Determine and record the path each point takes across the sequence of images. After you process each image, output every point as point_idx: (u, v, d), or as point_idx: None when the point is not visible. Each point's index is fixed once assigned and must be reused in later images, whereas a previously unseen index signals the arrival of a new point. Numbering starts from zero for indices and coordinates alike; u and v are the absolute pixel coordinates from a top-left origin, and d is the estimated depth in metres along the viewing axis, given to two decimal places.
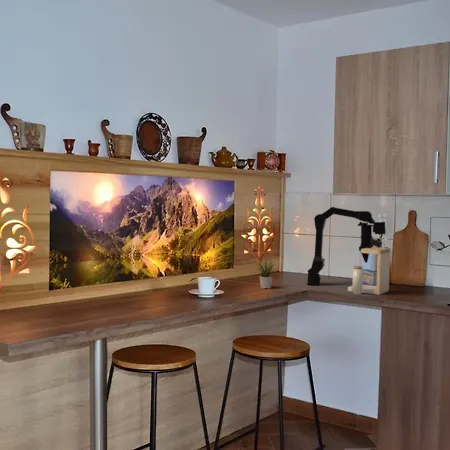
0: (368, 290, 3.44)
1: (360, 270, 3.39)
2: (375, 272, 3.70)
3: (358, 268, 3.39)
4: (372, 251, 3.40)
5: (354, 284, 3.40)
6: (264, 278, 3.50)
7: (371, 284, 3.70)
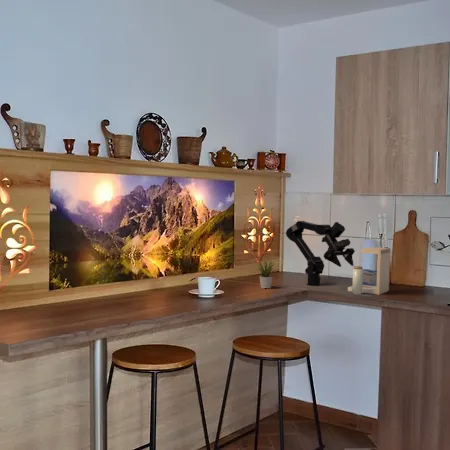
0: (368, 290, 3.44)
1: (360, 270, 3.39)
2: (375, 272, 3.70)
3: (358, 268, 3.39)
4: (372, 251, 3.40)
5: (354, 284, 3.40)
6: (264, 278, 3.50)
7: (371, 284, 3.70)
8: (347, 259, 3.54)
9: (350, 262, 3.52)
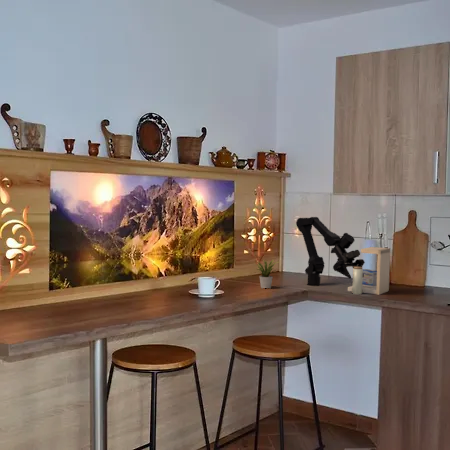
0: (368, 290, 3.44)
1: (360, 270, 3.39)
2: (375, 272, 3.70)
3: (358, 268, 3.39)
4: (372, 251, 3.40)
5: (354, 284, 3.40)
6: (264, 278, 3.50)
7: (371, 284, 3.70)
8: None
9: None
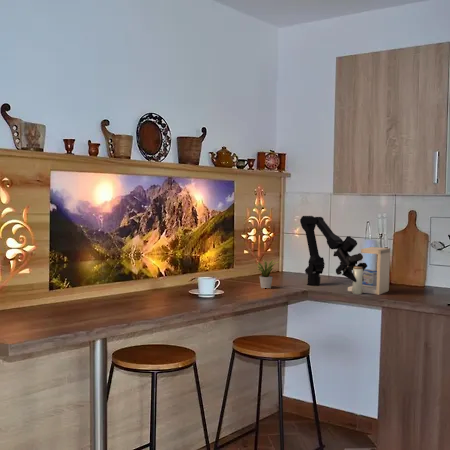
0: (368, 290, 3.44)
1: (360, 270, 3.39)
2: (375, 272, 3.70)
3: (358, 268, 3.39)
4: (372, 251, 3.40)
5: (354, 284, 3.40)
6: (264, 278, 3.50)
7: (371, 284, 3.70)
8: None
9: None
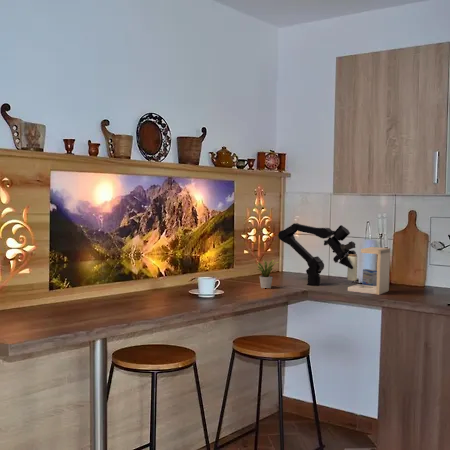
0: (368, 290, 3.44)
1: (356, 257, 3.53)
2: (375, 272, 3.70)
3: (354, 255, 3.53)
4: (372, 251, 3.40)
5: (350, 271, 3.53)
6: (264, 278, 3.50)
7: (371, 284, 3.70)
8: None
9: None
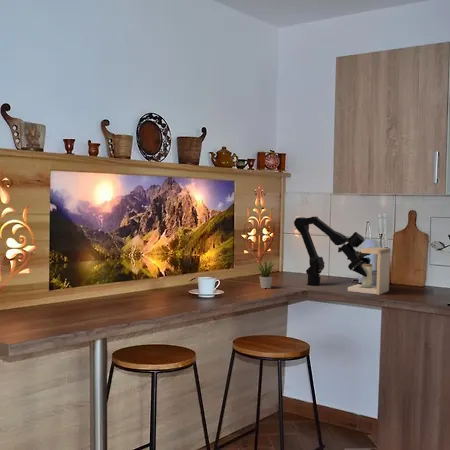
0: (368, 290, 3.44)
1: (371, 267, 3.48)
2: (375, 272, 3.70)
3: (369, 266, 3.48)
4: (372, 251, 3.40)
5: (365, 281, 3.49)
6: (264, 278, 3.50)
7: None
8: None
9: None
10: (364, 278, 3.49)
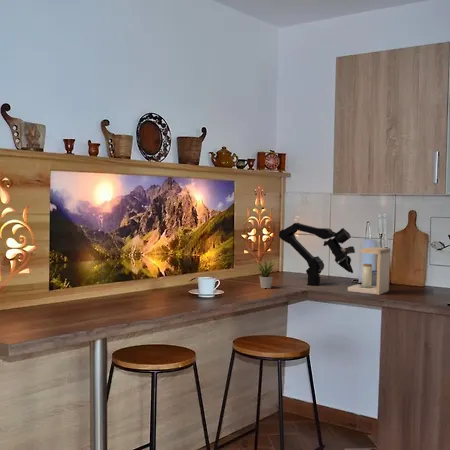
0: (368, 290, 3.44)
1: (371, 267, 3.49)
2: (375, 272, 3.70)
3: (369, 265, 3.48)
4: (372, 251, 3.40)
5: (365, 281, 3.49)
6: (264, 278, 3.50)
7: None
8: None
9: (350, 269, 3.61)
10: (364, 278, 3.49)
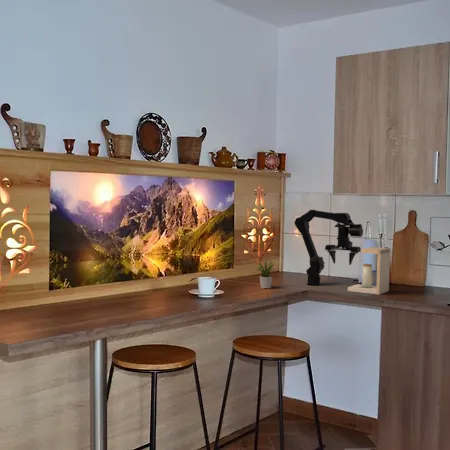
0: (368, 290, 3.44)
1: (371, 267, 3.49)
2: (375, 272, 3.70)
3: (369, 265, 3.48)
4: (372, 251, 3.40)
5: (365, 281, 3.49)
6: (264, 278, 3.50)
7: None
8: (333, 254, 3.61)
9: (334, 259, 3.62)
10: (364, 278, 3.49)
